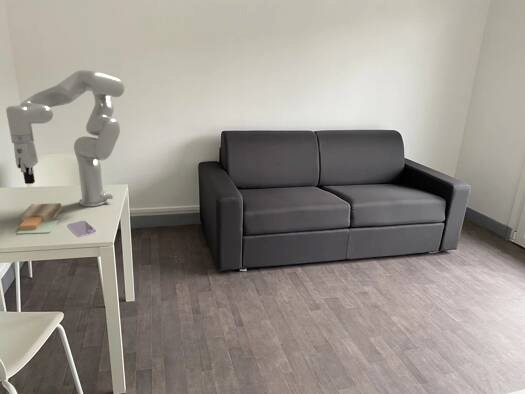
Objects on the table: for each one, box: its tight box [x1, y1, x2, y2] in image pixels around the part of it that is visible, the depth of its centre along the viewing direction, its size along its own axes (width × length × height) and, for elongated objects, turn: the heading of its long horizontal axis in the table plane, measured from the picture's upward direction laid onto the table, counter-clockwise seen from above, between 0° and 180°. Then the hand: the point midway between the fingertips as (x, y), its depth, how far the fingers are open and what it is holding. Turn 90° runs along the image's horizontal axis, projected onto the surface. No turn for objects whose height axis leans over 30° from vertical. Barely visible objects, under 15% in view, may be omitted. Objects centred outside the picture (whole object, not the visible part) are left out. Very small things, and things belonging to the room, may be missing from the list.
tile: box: [19, 217, 43, 230], centre depth 165 cm, size 6×9×2 cm, turn 12°
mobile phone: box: [67, 220, 98, 238], centre depth 165 cm, size 8×1×15 cm
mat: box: [16, 219, 60, 235], centre depth 164 cm, size 12×12×1 cm
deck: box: [19, 202, 62, 223], centre depth 176 cm, size 12×14×3 cm
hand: (30, 183), depth 164 cm, fingers closed
